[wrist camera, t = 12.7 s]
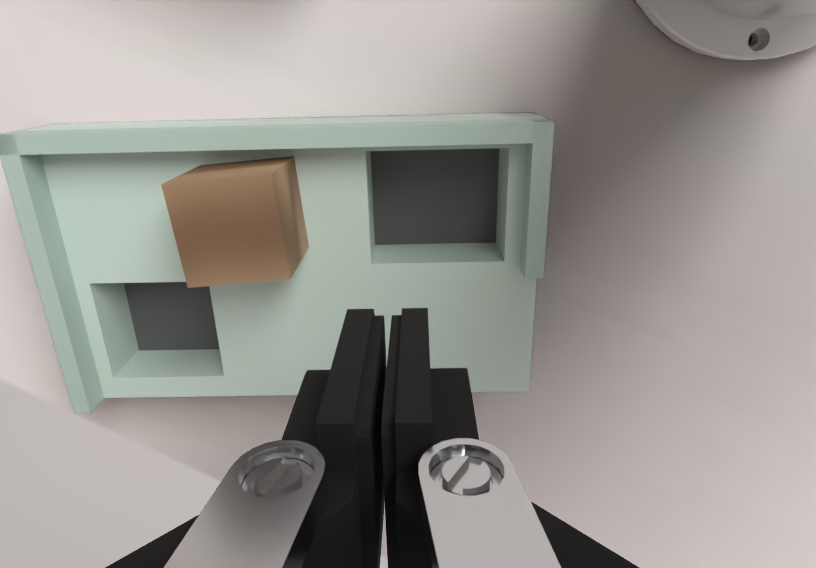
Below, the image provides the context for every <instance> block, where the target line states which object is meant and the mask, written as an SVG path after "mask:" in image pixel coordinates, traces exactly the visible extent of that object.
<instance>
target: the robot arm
mask: <svg viewBox="0 0 816 568" xmlns="http://www.w3.org/2000/svg"><path fill="white" fill-rule="evenodd" d="M636 2H637V4H638V5H639V6H640V7H641V9H642V10H643V11H644V13H645V14H646V15H647V17H648V18H649V19H650V21H651V22H652V23H653V24H654V25H655V26H656V27H657V28H659V29H660V30H661V31H662V32H663V33H665V34H666V35H667V36H668V37H669V38H671V39H672V40H673V41H674V42H676V43H678V44H680V45H682V46H684V47H686V48H688V49H690V50H692V51H694V52H696V53H699V54H704V55H708V56H712V57H716V58H720V59H731V60H757V59H771V58H778V57H781V56H785V55H789V54H793V53H796V52H800V51H804V50H806V49H809V48H811V47H813V46H815V45H816V0H636ZM750 35H751V36H752V42H751V44H750V45H749V46H748V39H749V37H750ZM384 501H385V516H386V535H387V555H388V568H639V567H637V566H636V565H634V564H632V563H631V562H629V561H627V560H626V559H624V558H623V557H621V556H619V555H618V554H616V553H614V552H613V551H611V550H609V549H608V548H606V547H605V546H603V545H601V544H600V543H598V542H596V541H595V540H593V539H591V538H590V537H588V536H586V535H585V534H583V533H582V532H580V531H578V530H577V529H575V528H573V527H572V526H570V525H568V524H567V523H565V522H564V521H562V520H560V519H559V518H557V517H555V516H554V515H552V514H550V513H549V512H547V511H545V510H544V509H542V508H541V507H539V506H537V505H536V504H534V503H532V502H531V501H530V499H529V497H528V495H527V492H526V490H525V488H524V486H523V484H522V482H521V479H520V477H519V475H518V473H517V471H516V469H515V466H514V464H513V462H512V461H511V460H510V458H509V457H508V455H507V454H506V453H505V452H503V451H502V450H501V449H499V448H498V447H497V446H495V445H492V444H490V443H487V442H485V441H481V440H479V437H478V431H477V425H476V419H475V412H474V406H473V400H472V394H471V388H470V381H469V375H468V370H467V368H430V349H429V325H428V308H402V315H392V318H391V328H390V338H389V349H388V359H387V366H386V343H385V322H384V315H375V314H374V309H347V312H346V315H345V319H344V323H343V326H342V330H341V333H340V337H339V341H338V344H337V348H336V351H335V355H334V358H333V362H332V366H331V369H330V370H307V371H306V373H305V375H304V378H303V381H302V384H301V387H300V390H299V392H298V395H297V398H296V401H295V404H294V406H293V409H292V412H291V415H290V418H289V421H288V423H287V426H286V429H285V432H284V435H283V438H282V440H279V441H274V442H269V443H265V444H263V445H260V446H258V447H255V448H253V449H251V450H250V451H248V452H247V453H245V454H244V455H242V456H241V457H240V458H239V459H238V460H237V461H236V462H235V463H234V464H233V465H232V467H231V468H230V470H229V471H228V473H227V474H226V476H225V477H224V479H223V480H222V482H221V483H220V485H219V486H218V488H217V489H216V491H215V492H214V494H213V495H212V497H211V498H210V500H209V501H208V503H207V504H206V505H205V507H204V508H203V510H202V511H201V513H200V514H199V515H198V516H196V517H194V518H192V519H191V520H189V521H187V522H186V523H184V524H182V525H180V526H178V527H176V528H175V529H173V530H171V531H169V532H168V533H166V534H164V535H162V536H161V537H159V538H157V539H155V540H154V541H152V542H150V543H148V544H147V545H145V546H143V547H141V548H139V549H138V550H136V551H134V552H132V553H131V554H129V555H127V556H125V557H123V558H122V559H120V560H118V561H116V562H114V563H113V564H111V565H110V566H107V567H106V568H380V555H381V542H382V528H383V514H384Z"/></svg>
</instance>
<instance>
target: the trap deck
mask: <svg viewBox="0 0 816 568" xmlns="http://www.w3.org/2000/svg"><path fill="white" fill-rule="evenodd" d="M554 125H555V122H554V121H552V120H550V119H547V118H545V117H543V116H540V115H538V114H536V113H533V112H522V113H480V114H437V115H394V116H352V117H309V118H267V119H224V120H181V121H139V122H96V123H57V124H52V125H46V126H40V127H35V128H29V129H23V130H17V131H12V132H6V133H0V159H1V163H2V166H3V170H4V173H5V177H6V180H7V184H8V187H9V190H10V194H11V197H12V201H13V204H14V208H15V211H16V215H17V218H18V222H19V225H20V229H21V232H22V235H23V239H24V242H25V246H26V249H27V253H28V256H29V260H30V263H31V267H32V270H33V274H34V277H35V280H36V284H37V287H38V291H39V294H40V298H41V301H42V305H43V308H44V312H45V315H46V319H47V322H48V325H49V329H50V332H51V336H52V339H53V343H54V346H55V350H56V353H57V357H58V360H59V364H60V367H61V370H62V374H63V377H64V381H65V384H66V388H67V391H68V395H69V398H70V402H71V405H72V409H73V412H74V413H91V412H92V411H93V410H94V409H95V408H96V407H97V405H98V404H99V403H100V402H101V401H102V400H103V399H104V398H136V397H203V396H269V395H298V392H299V390H300V387H301V384H302V381H303V378H304V375H305V373H306V371H307V370H330V369H331V366H332V362H333V358H334V355H335V351H336V348H337V344H338V341H339V337H340V333H341V330H342V326H343V323H344V319H345V315H346V312H347V309H374V314H375V315H384V322H385V343H386V366H387V359H388V349H389V338H390V328H391V318H392V315H402V308H428V325H429V349H430V368H467V370H468V375H469V381H470V388H471V392H529V388H530V373H531V358H532V343H533V328H534V312H535V297H536V282H537V279H539V278H544V266H545V252H546V238H547V224H548V210H549V196H550V182H551V168H552V154H553V139H554ZM291 156H294V160H295V166H296V172H297V178H298V184H299V190H300V196H301V202H302V208H303V214H304V219H305V225H306V231H307V237H308V243H309V248H308V249H307V251H306V253H305V255H304V257H303V258H302V260H301V262H300V264H299V265H298V267H297V269H296V271H295V273H294V274H293V276H292V278H291V279H286V280H274V281H262V282H251V283H239V284H227V285H216V286H204V287H192V288H188V287H187V283H186V279H185V275H184V271H183V267H182V263H181V260H180V256H179V252H178V248H177V244H176V240H175V236H174V232H173V229H172V225H171V221H170V217H169V213H168V209H167V205H166V201H165V198H164V194H163V190H162V186H161V184H163V183H165V182H167V181H169V180H171V179H173V178H175V177H177V176H179V175H181V174H183V173H186V172H188V171H190V170H192V169H194V168H196V167H198V166H200V165H207V164H217V163H228V162H238V161H249V160H259V159H270V158H280V157H291Z"/></svg>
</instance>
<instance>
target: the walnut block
mask: <svg viewBox="0 0 816 568" xmlns="http://www.w3.org/2000/svg"><path fill="white" fill-rule="evenodd" d="M161 186H162V190H163V194H164V198H165V201H166V205H167V209H168V213H169V217H170V221H171V225H172V229H173V232H174V236H175V240H176V244H177V248H178V252H179V256H180V260H181V263H182V267H183V271H184V275H185V279H186V283H187V287H188V288H192V287H204V286H216V285H227V284H239V283H251V282H262V281H274V280H286V279H291V278H292V276H293V274H294V273H295V271H296V269H297V267H298V265H299V264H300V262H301V260H302V258H303V257H304V255H305V253H306V251H307V249H308V248H309V243H308V237H307V231H306V225H305V219H304V214H303V208H302V202H301V196H300V190H299V184H298V178H297V172H296V166H295V160H294V156H291V157H280V158H270V159H259V160H249V161H238V162H228V163H217V164H207V165H200V166H198V167H196V168H194V169H192V170H190V171H188V172H186V173H183V174H181V175H179V176H177V177H175V178H173V179H171V180H169V181H167V182H165V183H163V184H161Z"/></svg>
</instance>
